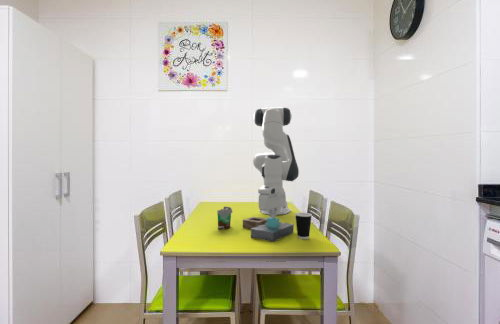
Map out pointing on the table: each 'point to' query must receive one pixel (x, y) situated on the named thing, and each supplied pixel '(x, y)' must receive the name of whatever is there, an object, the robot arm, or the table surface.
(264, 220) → the brown hollow square block
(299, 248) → the table surface
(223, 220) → the food container
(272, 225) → the plug
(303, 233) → the dixie cup
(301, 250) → the table surface
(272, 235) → the port box
